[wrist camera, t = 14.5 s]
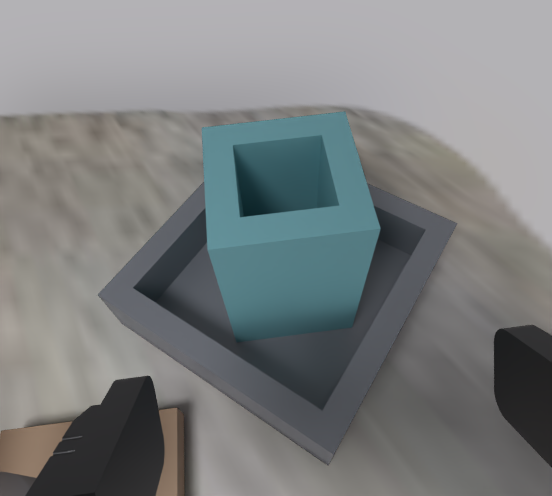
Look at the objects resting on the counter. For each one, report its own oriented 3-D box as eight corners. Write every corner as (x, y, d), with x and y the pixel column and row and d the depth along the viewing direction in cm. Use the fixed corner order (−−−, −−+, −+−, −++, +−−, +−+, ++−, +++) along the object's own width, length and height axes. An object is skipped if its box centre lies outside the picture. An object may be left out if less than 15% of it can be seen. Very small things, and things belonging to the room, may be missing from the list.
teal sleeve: (236, 342, 23) (207, 249, 15) (227, 224, 27) (200, 103, 19) (352, 327, 23) (380, 228, 15) (325, 212, 27) (337, 88, 19)
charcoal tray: (121, 323, 24) (97, 294, 21) (255, 170, 30) (251, 131, 27) (328, 465, 20) (333, 454, 17) (438, 258, 26) (457, 223, 23)
